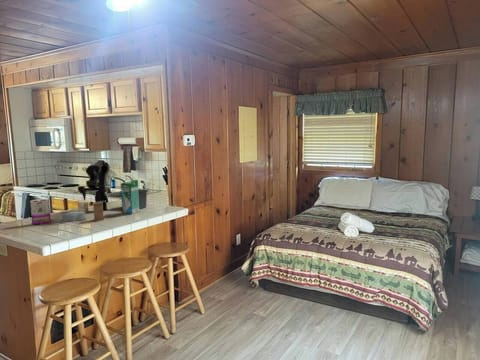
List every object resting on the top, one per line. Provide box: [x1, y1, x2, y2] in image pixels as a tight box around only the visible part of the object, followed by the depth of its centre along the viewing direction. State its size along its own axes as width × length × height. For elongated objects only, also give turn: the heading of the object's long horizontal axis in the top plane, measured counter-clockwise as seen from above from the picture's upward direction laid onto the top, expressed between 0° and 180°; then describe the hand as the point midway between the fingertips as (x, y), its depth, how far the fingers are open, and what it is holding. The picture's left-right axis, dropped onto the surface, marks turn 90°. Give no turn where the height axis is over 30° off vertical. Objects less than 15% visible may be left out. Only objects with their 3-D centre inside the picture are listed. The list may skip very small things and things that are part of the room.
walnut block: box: [93, 202, 105, 222], centre depth 247 cm, size 6×6×12 cm
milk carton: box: [120, 179, 140, 215], centre depth 269 cm, size 9×9×25 cm
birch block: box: [77, 201, 89, 214], centre depth 273 cm, size 5×5×8 cm
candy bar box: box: [29, 198, 52, 226], centre depth 240 cm, size 11×5×16 cm, turn 117°
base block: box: [60, 211, 87, 222], centre depth 252 cm, size 11×11×4 cm
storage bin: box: [119, 188, 149, 210], centre depth 290 cm, size 21×16×14 cm
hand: (91, 200), depth 253 cm, fingers open, 9 cm apart
